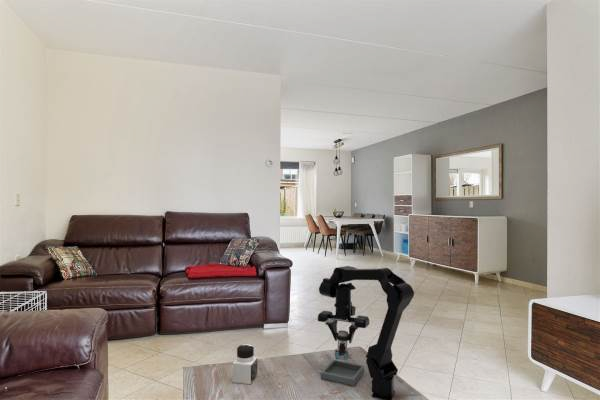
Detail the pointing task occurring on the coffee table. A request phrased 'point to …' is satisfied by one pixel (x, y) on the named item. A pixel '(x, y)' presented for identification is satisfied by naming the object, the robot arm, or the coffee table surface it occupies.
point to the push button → (342, 345)
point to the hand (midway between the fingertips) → (343, 342)
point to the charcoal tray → (342, 373)
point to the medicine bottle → (245, 365)
